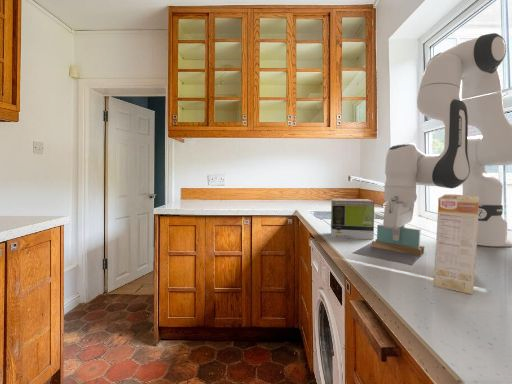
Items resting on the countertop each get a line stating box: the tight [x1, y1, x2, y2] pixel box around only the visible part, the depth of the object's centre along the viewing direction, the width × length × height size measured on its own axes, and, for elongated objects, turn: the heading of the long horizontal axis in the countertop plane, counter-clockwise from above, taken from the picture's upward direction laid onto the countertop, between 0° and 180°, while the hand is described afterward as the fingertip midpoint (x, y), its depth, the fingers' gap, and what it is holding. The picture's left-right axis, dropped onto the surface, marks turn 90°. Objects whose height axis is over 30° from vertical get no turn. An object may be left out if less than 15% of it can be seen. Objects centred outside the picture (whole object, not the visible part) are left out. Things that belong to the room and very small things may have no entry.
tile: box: [376, 224, 422, 248], centre depth 87 cm, size 2×12×7 cm, turn 49°
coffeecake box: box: [433, 193, 479, 295], centre depth 63 cm, size 15×7×20 cm, turn 141°
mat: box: [352, 242, 424, 266], centre depth 83 cm, size 17×16×1 cm
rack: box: [371, 238, 425, 257], centre depth 87 cm, size 5×14×2 cm, turn 49°
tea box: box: [330, 198, 375, 240], centre depth 106 cm, size 15×10×15 cm
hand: (397, 239), depth 87 cm, fingers closed on tile, 2 cm apart
